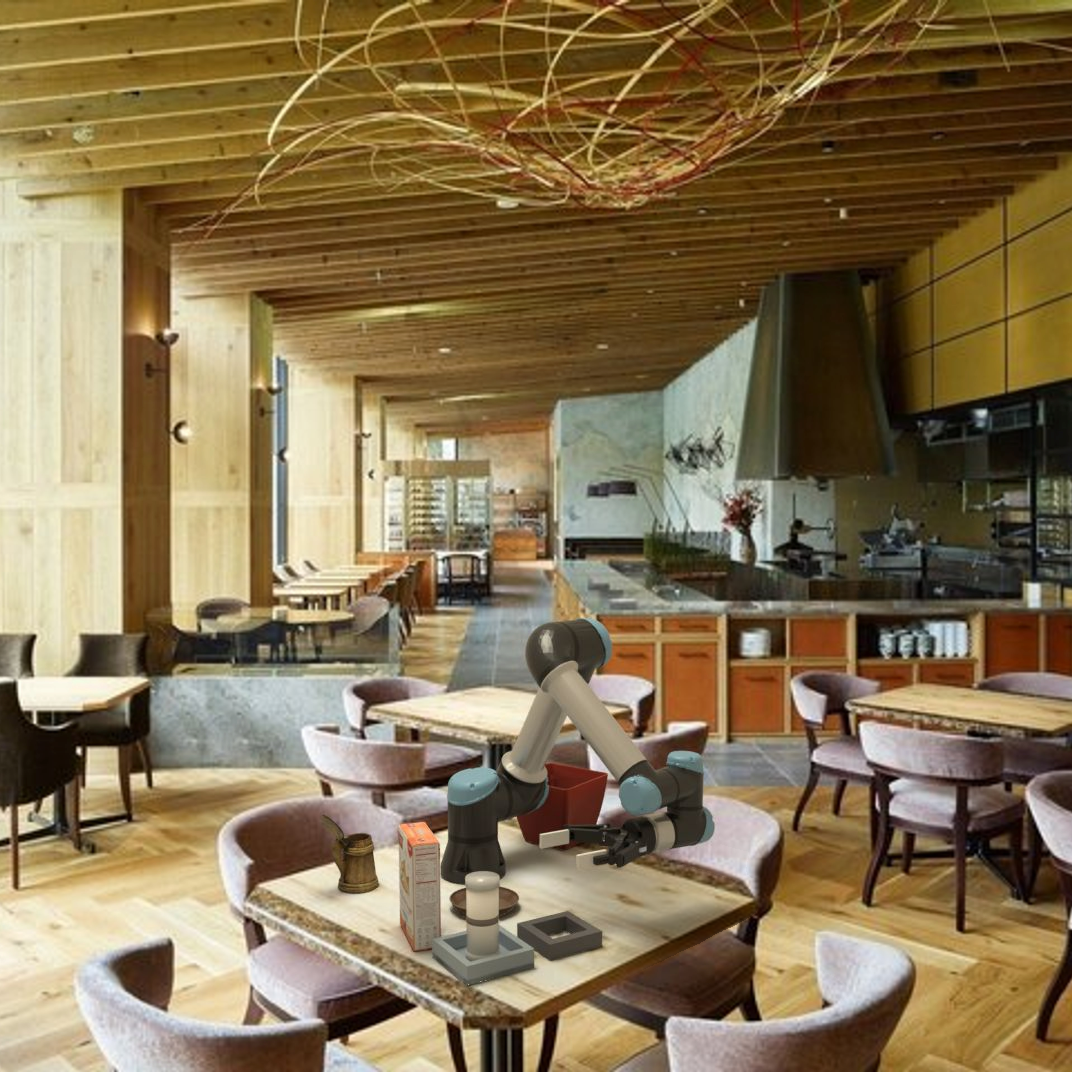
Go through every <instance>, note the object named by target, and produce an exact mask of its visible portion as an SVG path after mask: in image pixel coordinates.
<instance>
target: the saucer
mask: <svg viewBox="0 0 1072 1072" xmlns="http://www.w3.org/2000/svg"><path fill="white" fill-rule="evenodd" d="M519 900H520V895H519V894H518V892H516V891H515V890H513V889H510V888H508V887H504V886H499V917H502V916H505V915H507V914H508V913H509V912H511V911H512V910H513V909H515V906H516V905H517V903H518V902H519ZM449 902H450V903H451V905H452V906H453V907H454V909H455V910H456V911H458V912H459V913H460V914H461V915H464V916H465V917H466V887H462V888H459V889H457V890H455V891H454V892H452V893H451V894H450V895H449ZM504 914H505V915H504Z"/></svg>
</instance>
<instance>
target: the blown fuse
mask: <svg viewBox="0 0 1072 1072" xmlns="http://www.w3.org/2000/svg"><path fill="white" fill-rule="evenodd" d="M500 879H501V878H500V876H499V875H498V874H497V873H494V872H489V871H478V872H473V873H470V874H468V875H466V876H465V884H464V885H465V887H464V888H466V916H465V917H466V918H465V922H466V931H467V947H466V959H467V960H469V961H470V962H471V961H475V960H479V959H483V958H487V957H491V956H494V955H498V954H500V947H499V925H500V916H499V886H500V885H501V883H500ZM500 887H501V886H500Z"/></svg>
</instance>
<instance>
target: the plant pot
mask: <svg viewBox="0 0 1072 1072" xmlns="http://www.w3.org/2000/svg"><path fill="white" fill-rule="evenodd" d="M545 767H546V769H547V777H548V782H547V785H549V792H548V796H547V798H546V800H545V802H544V803H543V805H542V806H541V807H539V808H538V809H536V810H534V811H533V812H531V813H529V814H524V815H521V816H518V817H516V820H517V822H518V823H517V824H518V826H519V829H520V831H521V835H523V838H524V841H525V842H528V843H531V844H535V845H539V846H540V834H543V833H549V832H554V831H560V830H564V825H588V824H598V820H599V817H600V815H601V810H602V807H603V805H604V804H603V803H604V798H605V794H606V790H607V783H608V775H609V774H608V772H604V771H599V770H594V769H589V768H583V767H577V766H573V765H567V764H561V763H557V762H556V763H555V762H546V764H545ZM581 843H582V842H572V841H569V844H568V845H566V844H563V845H558V846H553V847H550V848H551V849H555V850H559V851H566V850H569V849H571V848H573V847H575V846H577V845H579V844H581Z"/></svg>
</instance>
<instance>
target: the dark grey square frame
mask: <svg viewBox="0 0 1072 1072" xmlns="http://www.w3.org/2000/svg"><path fill="white" fill-rule="evenodd" d="M566 931H567V932H566ZM563 932H566V933H568V932H569V933H570V934H569V933H568V934H566V935H561V936H558V937H555V938H553V937H551V935H555V934H558V933H563ZM516 937H518V938H519V939H521V940H522V941H524V942H525V943H527V944H528V945H529V946H531V947H532V948H534V952H536V953H538V954H539V955H541V956H543V958H545V959H547V960H548V961H554V960H557V959H562V958H566V957H568V956H569V957H570V956H572V955H575V954H580V953H583V952H586V951H591V950H594V949H598V948H601V947H603V930H601V929H600V928H598V927H596V926H594V925H593V924H591V923H589V922H588V921H587V920H585V919H583V918H581V917H579V916H578V915H576V914H574V913H572V912H571V911H569V910H566V911H562V912H556V913H553V914H550V915H545V916H542V917H536V918H533V919H528V920H525V921H522V922H517V924H516Z"/></svg>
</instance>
